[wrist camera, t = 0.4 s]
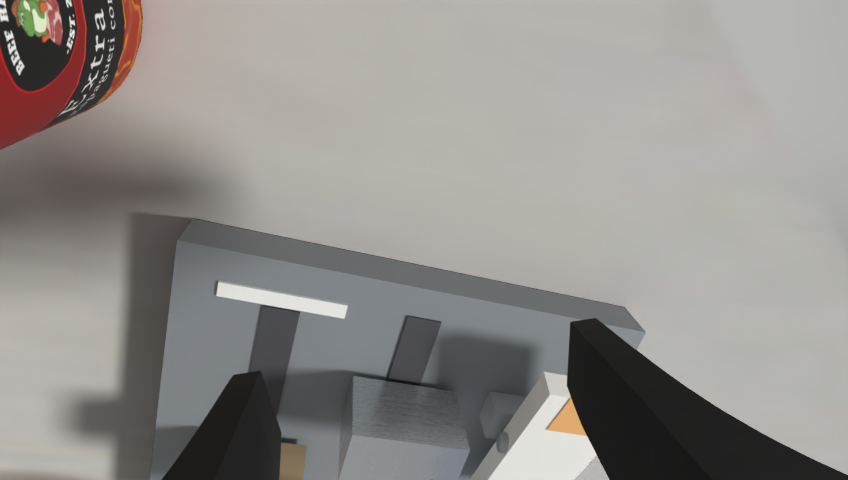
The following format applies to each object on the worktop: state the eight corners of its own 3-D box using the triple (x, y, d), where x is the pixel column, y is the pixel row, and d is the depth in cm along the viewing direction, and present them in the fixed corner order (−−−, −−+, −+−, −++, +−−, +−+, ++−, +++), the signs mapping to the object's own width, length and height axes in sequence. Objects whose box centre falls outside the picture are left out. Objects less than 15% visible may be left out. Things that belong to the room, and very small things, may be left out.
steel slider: (439, 434, 24) (451, 496, 21) (340, 420, 23) (337, 483, 20) (455, 391, 23) (469, 450, 20) (353, 375, 22) (352, 434, 19)
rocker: (545, 489, 25) (550, 511, 24) (465, 479, 24) (467, 502, 24) (634, 387, 21) (643, 410, 20) (539, 370, 20) (545, 395, 19)
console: (520, 517, 30) (538, 575, 27) (160, 479, 26) (134, 542, 23) (624, 307, 25) (661, 350, 22) (192, 218, 21) (164, 256, 18)
